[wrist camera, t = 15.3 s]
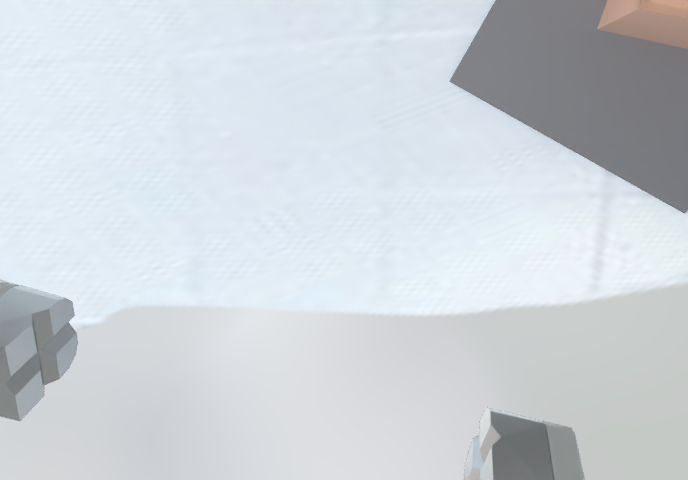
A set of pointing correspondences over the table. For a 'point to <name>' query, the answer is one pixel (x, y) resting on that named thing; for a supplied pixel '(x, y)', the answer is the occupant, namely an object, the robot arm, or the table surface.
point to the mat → (587, 89)
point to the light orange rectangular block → (648, 20)
